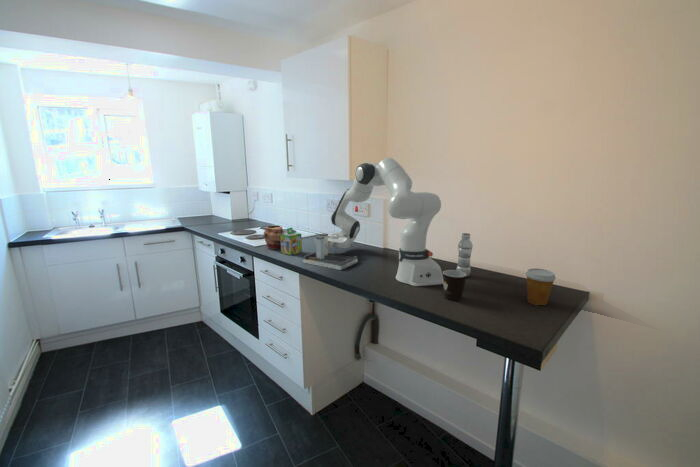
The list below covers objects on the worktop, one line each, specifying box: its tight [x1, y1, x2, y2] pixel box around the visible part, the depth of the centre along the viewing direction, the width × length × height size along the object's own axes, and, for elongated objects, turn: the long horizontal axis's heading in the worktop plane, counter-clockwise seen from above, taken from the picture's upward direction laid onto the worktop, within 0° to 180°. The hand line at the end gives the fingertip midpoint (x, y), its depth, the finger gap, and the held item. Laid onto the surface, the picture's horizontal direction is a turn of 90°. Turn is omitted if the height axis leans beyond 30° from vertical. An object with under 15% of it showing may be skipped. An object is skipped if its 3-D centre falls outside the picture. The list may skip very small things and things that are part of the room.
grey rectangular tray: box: [302, 251, 359, 271], centre depth 168 cm, size 24×16×4 cm, turn 58°
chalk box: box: [280, 227, 303, 256], centre depth 186 cm, size 9×9×15 cm
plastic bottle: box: [455, 232, 474, 278], centre depth 146 cm, size 6×7×20 cm
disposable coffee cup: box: [525, 268, 557, 306], centre depth 118 cm, size 10×10×12 cm
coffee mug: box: [442, 269, 467, 302], centre depth 123 cm, size 12×9×10 cm
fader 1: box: [314, 235, 325, 259], centre depth 166 cm, size 3×3×12 cm
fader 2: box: [318, 232, 329, 255], centre depth 174 cm, size 3×3×12 cm
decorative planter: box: [263, 224, 285, 250], centre depth 199 cm, size 20×12×14 cm, turn 43°
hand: (323, 245), depth 173 cm, fingers closed on fader 2, 3 cm apart
